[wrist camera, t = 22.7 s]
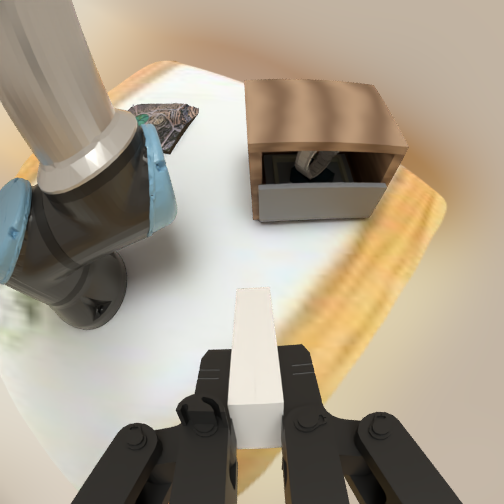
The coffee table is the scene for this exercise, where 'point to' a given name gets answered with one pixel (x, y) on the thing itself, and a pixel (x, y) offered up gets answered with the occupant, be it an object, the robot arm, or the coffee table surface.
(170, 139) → the terrain model
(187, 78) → the coffee table surface
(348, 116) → the watch cabinet
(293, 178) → the watch
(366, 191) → the drawer tray
